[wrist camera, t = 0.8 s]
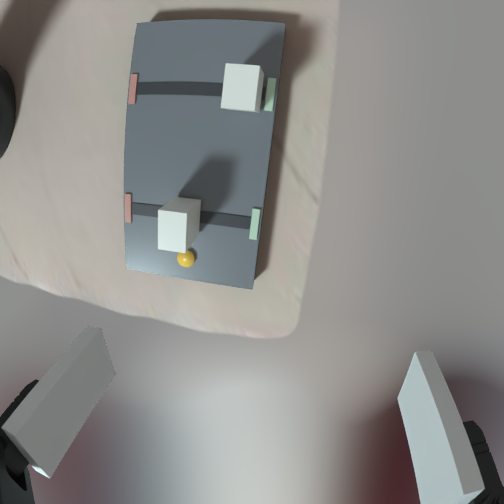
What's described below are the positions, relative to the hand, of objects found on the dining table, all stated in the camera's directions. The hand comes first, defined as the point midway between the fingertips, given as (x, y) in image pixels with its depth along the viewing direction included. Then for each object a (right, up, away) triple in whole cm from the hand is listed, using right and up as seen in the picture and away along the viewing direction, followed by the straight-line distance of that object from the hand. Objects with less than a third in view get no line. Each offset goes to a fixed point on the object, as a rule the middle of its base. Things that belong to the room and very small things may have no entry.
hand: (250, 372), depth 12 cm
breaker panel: (-5, +15, +18) cm, 24 cm away
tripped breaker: (-6, +8, +18) cm, 21 cm away
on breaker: (0, +18, +13) cm, 23 cm away
